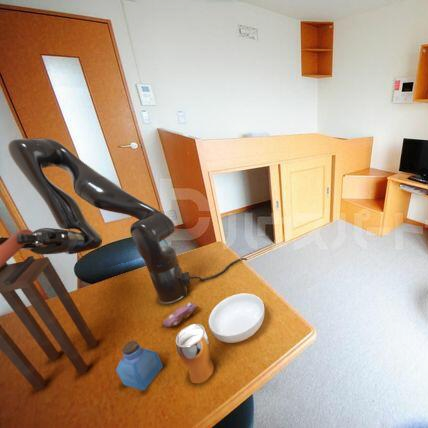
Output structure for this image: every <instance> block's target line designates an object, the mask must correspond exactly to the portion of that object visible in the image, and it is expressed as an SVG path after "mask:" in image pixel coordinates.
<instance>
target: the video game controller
mask: <svg viewBox="0 0 428 428" xmlns="http://www.w3.org/2000/svg"><path fill="white" fill-rule="evenodd" d="M197 307H198V306H197V305H196V304H195V303H194V302H188V303H186V304H185V305H182V306H179V307H178V308H176V309H175V310H174V312H172V313H171V314H170V315H169V316H168V317H167V318H166V319H164V320H162V324H163V327H165V328H172V327H173V326H177V325H179V324H180V323H181V322H182V321H183V320H182V317H183V319H187V318H189V317H190V316H191V314H192V313H193V312H194V311H195V310H196V308H197Z"/></svg>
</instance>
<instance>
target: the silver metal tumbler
mask: <svg viewBox="0 0 428 428" xmlns="http://www.w3.org/2000/svg"><path fill="white" fill-rule="evenodd" d="M205 329H206V328H205V327H204V325H202V324H200V323H192V324H189V325H187V326H184V327H183V328H182V329H181V330H180V331H179V332H178V333H177V334H176V336H175V344H176V345H175V346H176V349H177V353H178V356H179V359H180V360H181V362H182V363H183V364H184V366H185V367H186V368H187V369H188V371H189V373H188V374H189V376H188V377H189V380H190V381H191V382H192V383H193V384H202V383H205V382H206V381H208V380H209V378H211V376H212V375H213V373H214V370H215V366H214V363H213V361H212V360H211V352H210V350H211V349H210V347H211V346H210V339H209V337H208V334H207V332H206V330H205Z"/></svg>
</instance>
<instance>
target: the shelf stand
mask: <svg viewBox="0 0 428 428" xmlns="http://www.w3.org/2000/svg"><path fill="white" fill-rule="evenodd" d="M42 273H43V274H44V276H45V278H46V279H47V281H48V283H49V285H50V286H51V288H52V289H53V291H54V292H55V294H56V296H57V297H58V299H59V301H60V303H61V304H62V306H63V307H64V309H65V311H66V312H67V314H68V315H69V317H70V319H71V320H72V322H73V323H74V326H75V327H76V329H77V330H78V332H79V333H80V336H81V337H82V338H83V340H84V342H85V344H86V345H87V347H88V348H89V349H92V348H95V347H97V344H98V341H97V340H96V338H95V335H94V334H93V333H92V331H91V329H90V328H89V326H88V324H87V322H86V320H85V319H84V317H83V315H82V313H81V312H80V310H79V308H78V307H77V305H76V303H75V302H74V300H73V298H72V296H71V295H70V293H69V292H68V291H69V290H68V289H67V287H66V286H65V284H64V282H63V280H62V279H61V277H60V275H59V274H58V272H57V270H56V269H55V267H54V265H53V264H52V262H51V260H50V258H49V256H45V257H44V256H43V257H39V258H35V257H34V256H33V255H30V256H27V258H26V259H24V260H23V261H18V262H13V263H7V262H6V263H5V264H3V265H2V266H1V267H0V294H1V296H2V297H3V299H4V300H5V301H6V303H7V304H8V305H9V307H10V308H11V310H12V311H13V312H14V314H15V315H16V317H18V319H19V320H20V321H21V323H22V324H23V326H24V327H25V329H27V331H28V333H29V334H30V335H31V337H32V338H33V339H34V340H35V342H36V343H37V344H38V346H39V347H40V348H41V350H42V351H43V353H44V354H45V355H46V356H47V358H48V360H49V361H50V362H53V361H56V360H59V358H60V356H61V354H60V352H59V351H58V349H57V348H56V347H55V346H54V344H53V342H52V341H51V340H50V338H49V337H48V335H47V334H46V332H45V331H44V330H43V328H42V327H41V326H40V324H39V323H38V321H37V320H36V318H35V317H34V316H33V313H31V311H30V309H29V308H28V307H27V305H26V304H25V302H24V301H23V300H22V298H21V296H19V294H18V293H17V292H16V291H17V290H21V292H22V293H23V294H24V296H25V298H26V299H27V301H28V302H29V303H30V305H31V307H32V308H33V309H34V311H35V312H36V313H37V315H38V316H39V318H40V320H41V321H42V323H43V324H44V325H45V326H46V328H47V330H48V331H49V332H50V334H51V335H52V337H53V338H54V340H55V342H56V343H57V344H58V345H59V347H60V348H61V350H62V351H63V353H64V354H65V356H66V357H67V358H68V360H69V362H70V363H71V364H72V366H73V367H74V369H75V370H76V373H78V375H79V376H80V375H84V374H87V372H88V371H89V366H88V365H87V363H86V361H85V360H84V358H83V356H81V354H80V353H79V351H78V349H77V347H76V346H75V345H74V343H73V341H72V340H71V338H70V337H69V335H68V334H67V333H66V331H65V328H64V327H63V326H62V324H61V323H60V321H59V320H58V319H57V317H56V315H55V314H54V312H53V311H52V309H51V307H50V306H49V304H48V303H47V301H46V299H45V298H44V296H43V295H42V294H41V292H40V290H39V289H38V287H37V285H36V284H35V281H36V280H37V279H38V277H39V276H40V275H41V274H42ZM0 350H1V352H2V353H3V354H4V355H5V356H6V357H7V358H8V360H9V361H10V362H11V363H12V364H13V366H14V368H16V369H17V371H19V373H20V374H21V375H22V376H23V377H24V379H25V380H26V381H27V382H28V383H29V384H30V385H31V387H32V388H33V389H34V390H35V391H39V390H42V389H44V388H45V386H46V384H47V380H45V378H44V377H43V376H42V375H41V374H40V372H39V370H37V368H36V367H35V366H34V365H33V363H32V362H31V361H30V360H29V358H28V357H27V356H26V355H25V354H24V352H23V351H22V350H21V349H20V347H19V346H18V345H17V343H15V340H13V338H11V336H10V335H9V334H8V332H7V331H6V330H5V328H4V327H3V326H2V325H1V324H0Z"/></svg>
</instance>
